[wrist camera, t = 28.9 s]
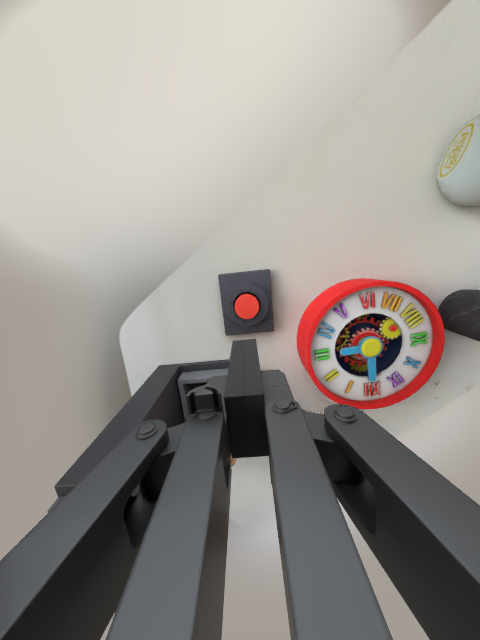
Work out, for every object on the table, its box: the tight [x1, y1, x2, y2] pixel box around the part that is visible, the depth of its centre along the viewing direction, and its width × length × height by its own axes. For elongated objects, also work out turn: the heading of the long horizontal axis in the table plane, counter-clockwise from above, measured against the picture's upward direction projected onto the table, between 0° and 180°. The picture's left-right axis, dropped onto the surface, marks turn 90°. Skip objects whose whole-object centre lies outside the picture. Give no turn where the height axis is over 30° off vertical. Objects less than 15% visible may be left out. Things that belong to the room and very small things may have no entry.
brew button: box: [235, 294, 259, 319], centre depth 34 cm, size 4×4×2 cm
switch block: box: [218, 269, 274, 335], centre depth 36 cm, size 10×8×4 cm
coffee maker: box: [48, 360, 230, 613], centre depth 30 cm, size 14×16×24 cm
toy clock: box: [297, 279, 445, 409], centre depth 36 cm, size 20×6×20 cm
